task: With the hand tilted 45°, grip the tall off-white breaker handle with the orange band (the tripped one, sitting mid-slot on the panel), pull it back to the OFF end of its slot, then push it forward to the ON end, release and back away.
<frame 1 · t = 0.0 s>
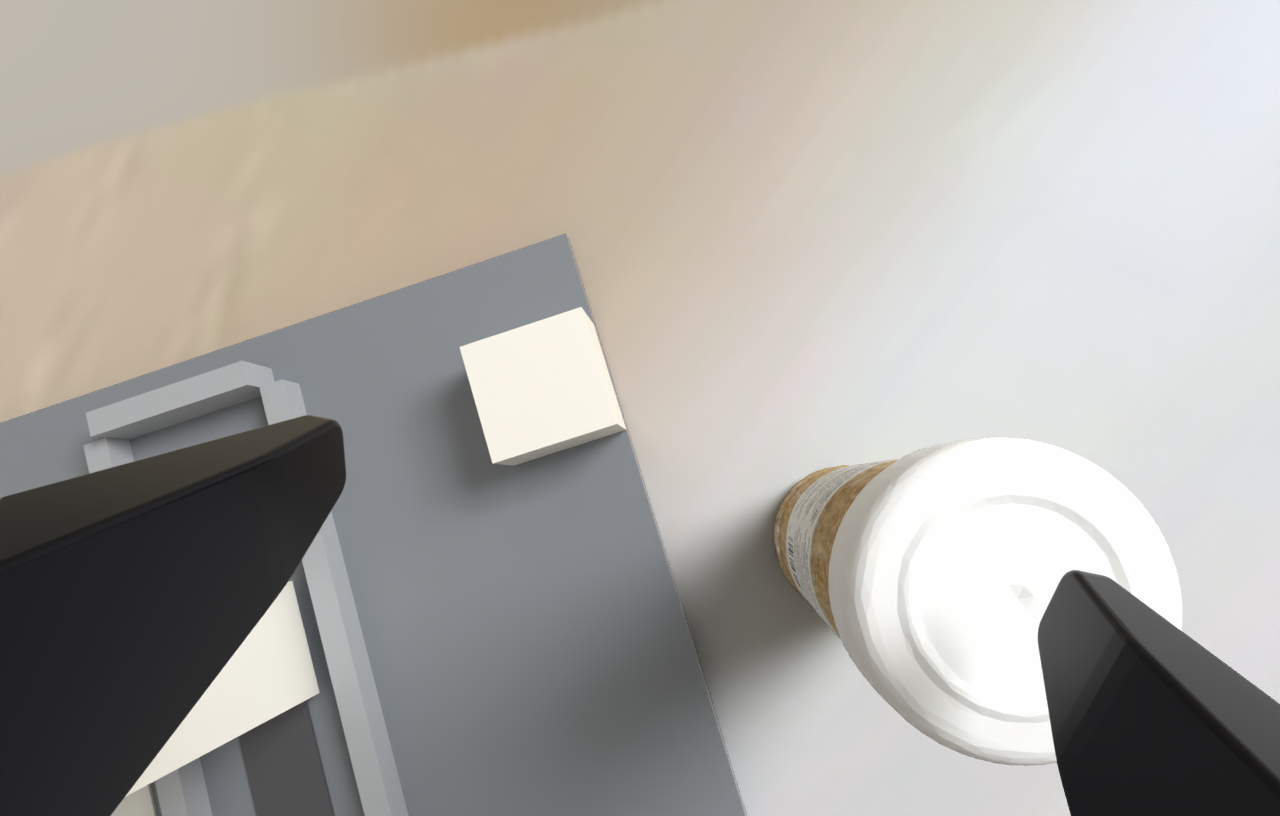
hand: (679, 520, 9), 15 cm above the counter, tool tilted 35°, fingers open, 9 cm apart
panel: (268, 646, 25), on the counter
breaker handle: (114, 703, 18), point 7 cm above the counter, slide at 0.0 cm
sprinkles bottle: (842, 535, 24), on the counter
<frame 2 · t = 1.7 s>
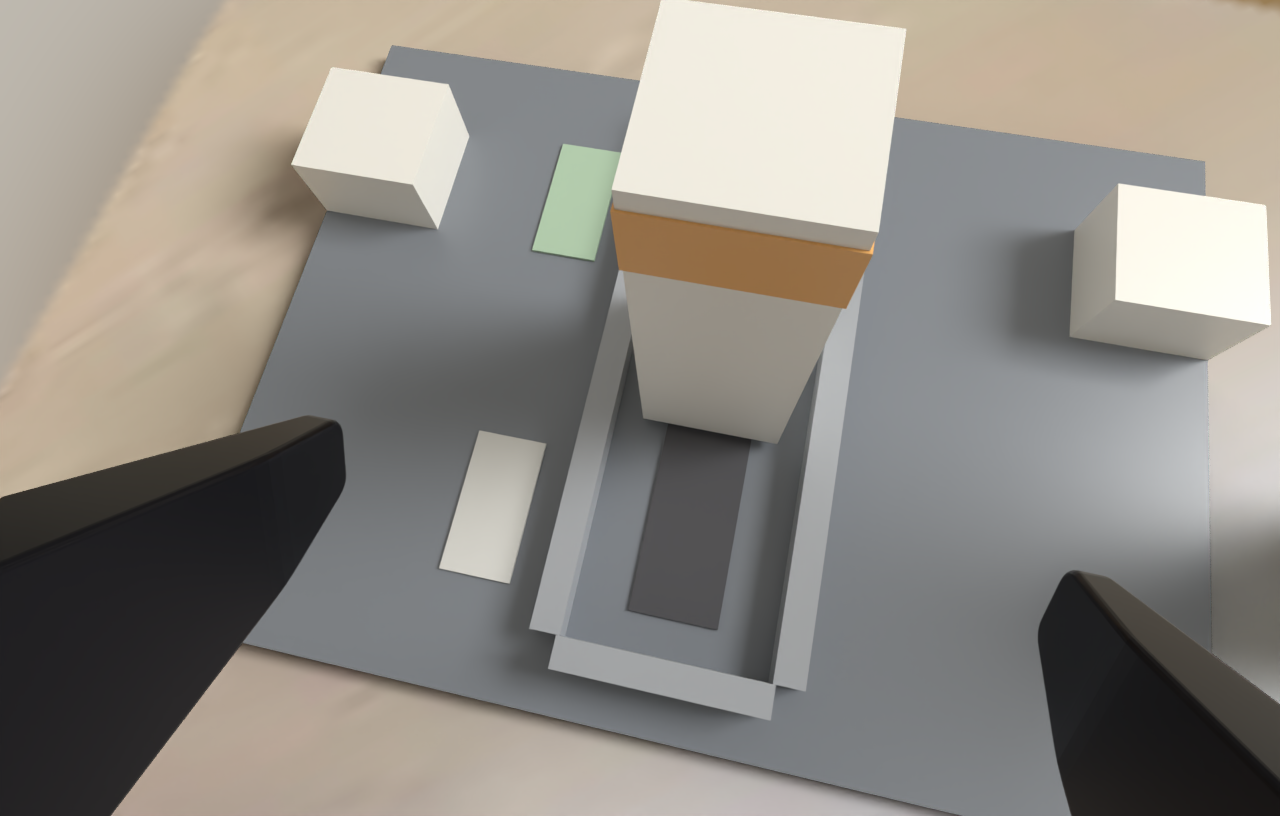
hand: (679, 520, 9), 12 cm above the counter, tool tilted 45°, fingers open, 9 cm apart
panel: (719, 384, 22), on the counter
breaker handle: (735, 281, 16), point 7 cm above the counter, slide at 0.0 cm
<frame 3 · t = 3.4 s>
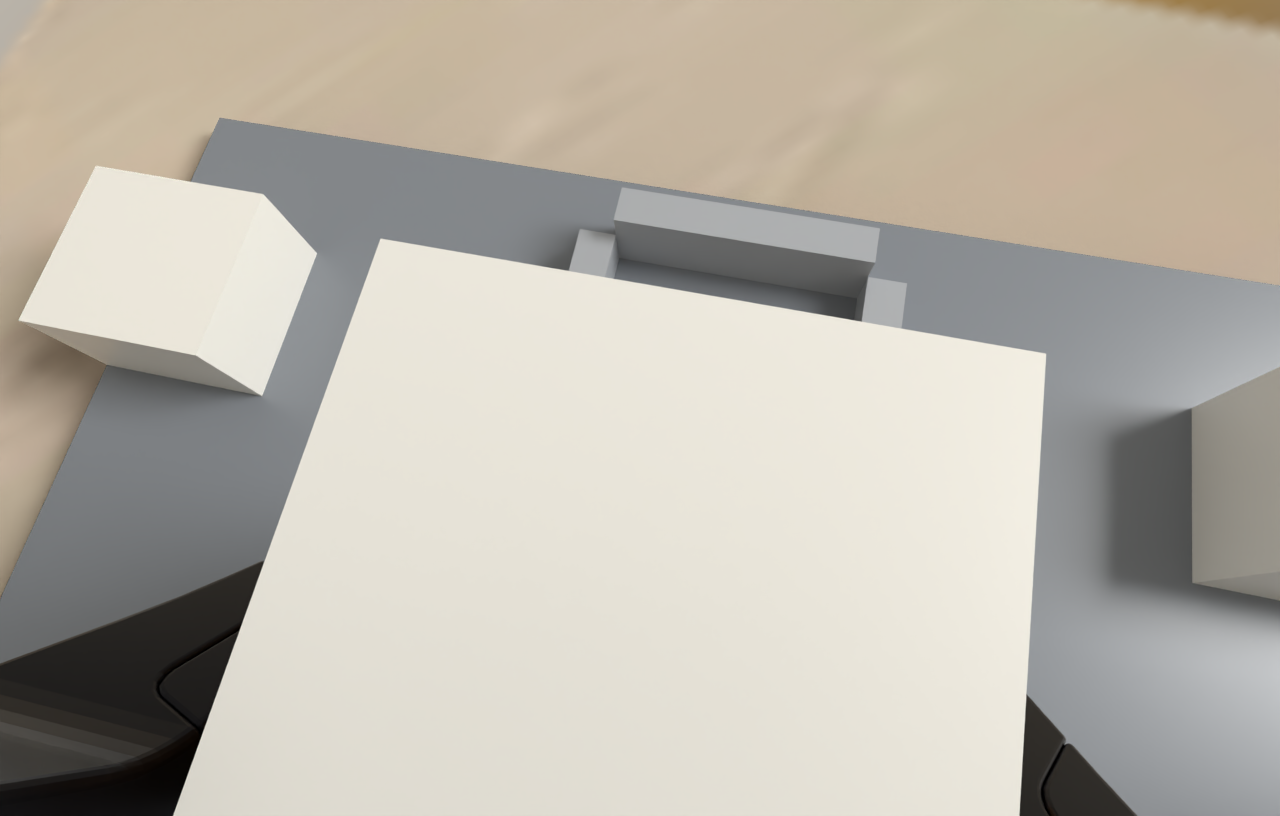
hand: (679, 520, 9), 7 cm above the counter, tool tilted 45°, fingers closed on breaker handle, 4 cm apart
panel: (664, 642, 15), on the counter
breaker handle: (656, 636, 9), point 7 cm above the counter, slide at 0.0 cm, touching gripper
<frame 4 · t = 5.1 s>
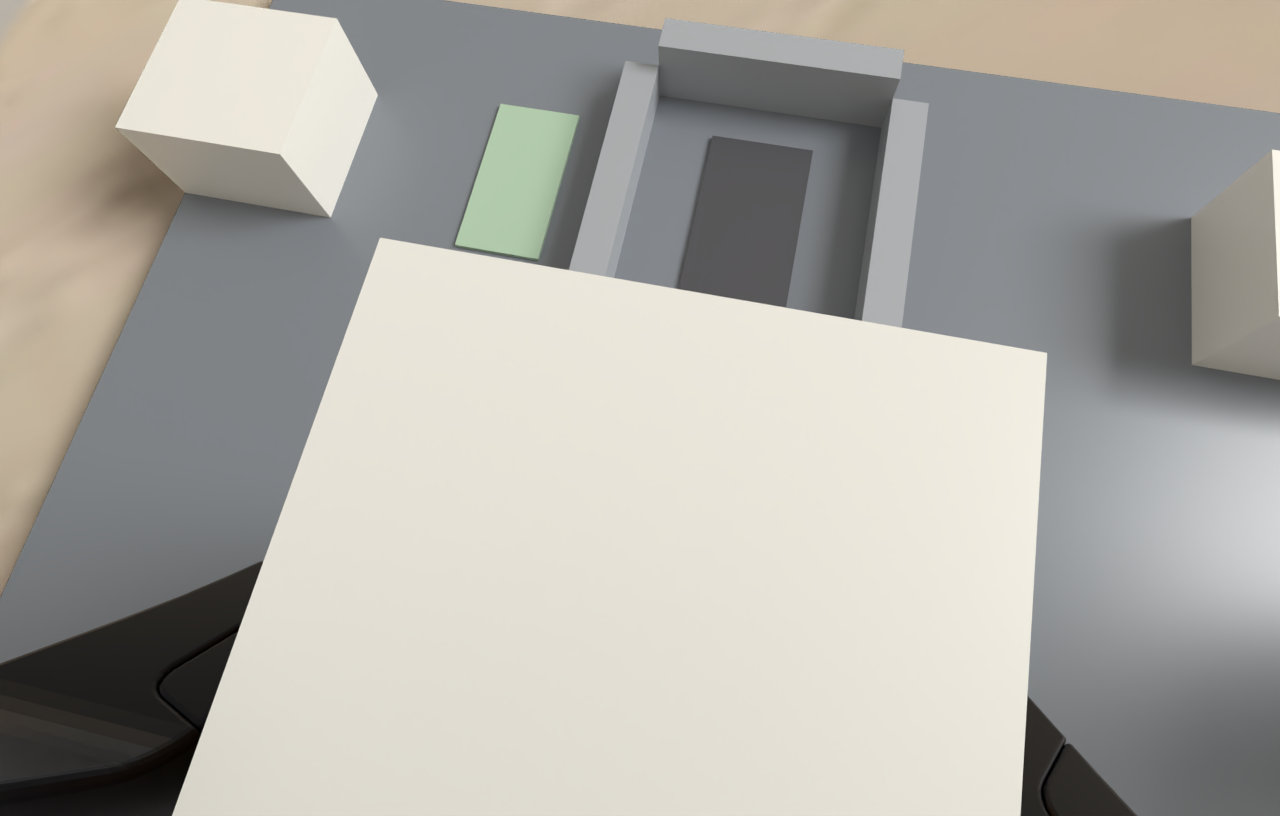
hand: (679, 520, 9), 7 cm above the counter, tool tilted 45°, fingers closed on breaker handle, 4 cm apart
panel: (706, 428, 16), on the counter
breaker handle: (656, 636, 9), point 7 cm above the counter, slide at -4.6 cm, touching gripper
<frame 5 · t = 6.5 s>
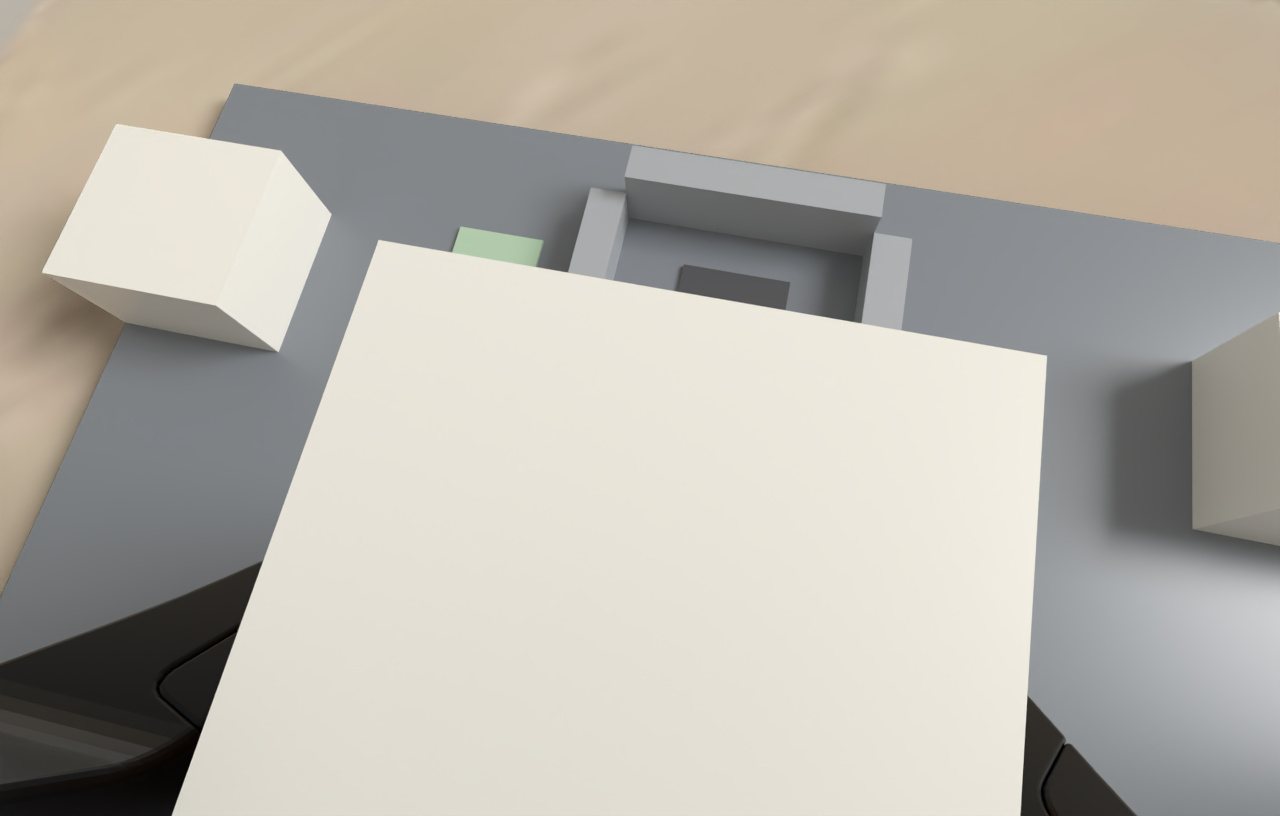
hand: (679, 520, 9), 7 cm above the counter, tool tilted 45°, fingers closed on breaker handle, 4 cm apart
panel: (675, 589, 15), on the counter
breaker handle: (656, 637, 9), point 6 cm above the counter, slide at -1.1 cm, touching gripper
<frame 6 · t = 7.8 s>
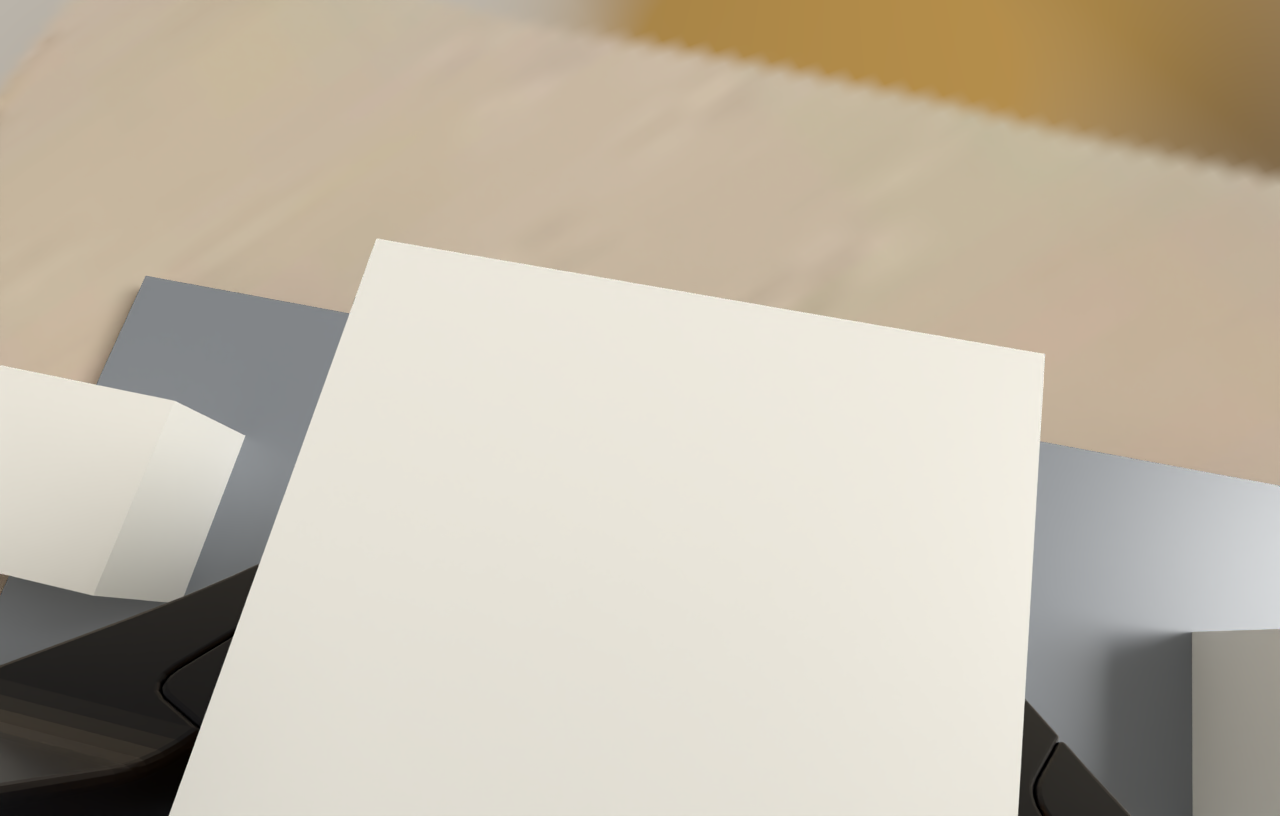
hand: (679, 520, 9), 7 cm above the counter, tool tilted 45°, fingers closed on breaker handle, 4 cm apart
breaker handle: (655, 636, 9), point 6 cm above the counter, slide at 4.5 cm, touching gripper
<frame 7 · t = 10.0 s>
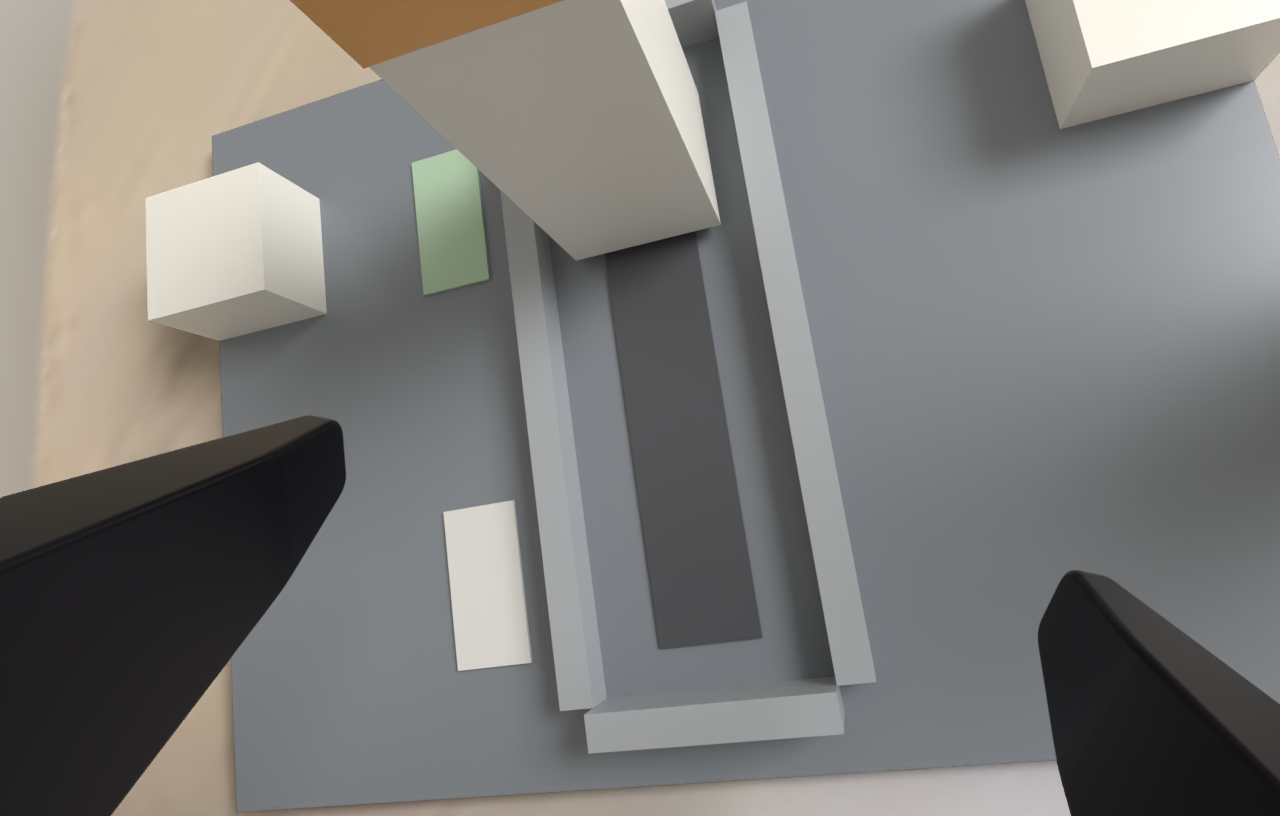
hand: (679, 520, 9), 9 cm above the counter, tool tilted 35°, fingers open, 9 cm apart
panel: (672, 357, 19), on the counter
breaker handle: (554, 47, 14), point 6 cm above the counter, slide at 4.6 cm
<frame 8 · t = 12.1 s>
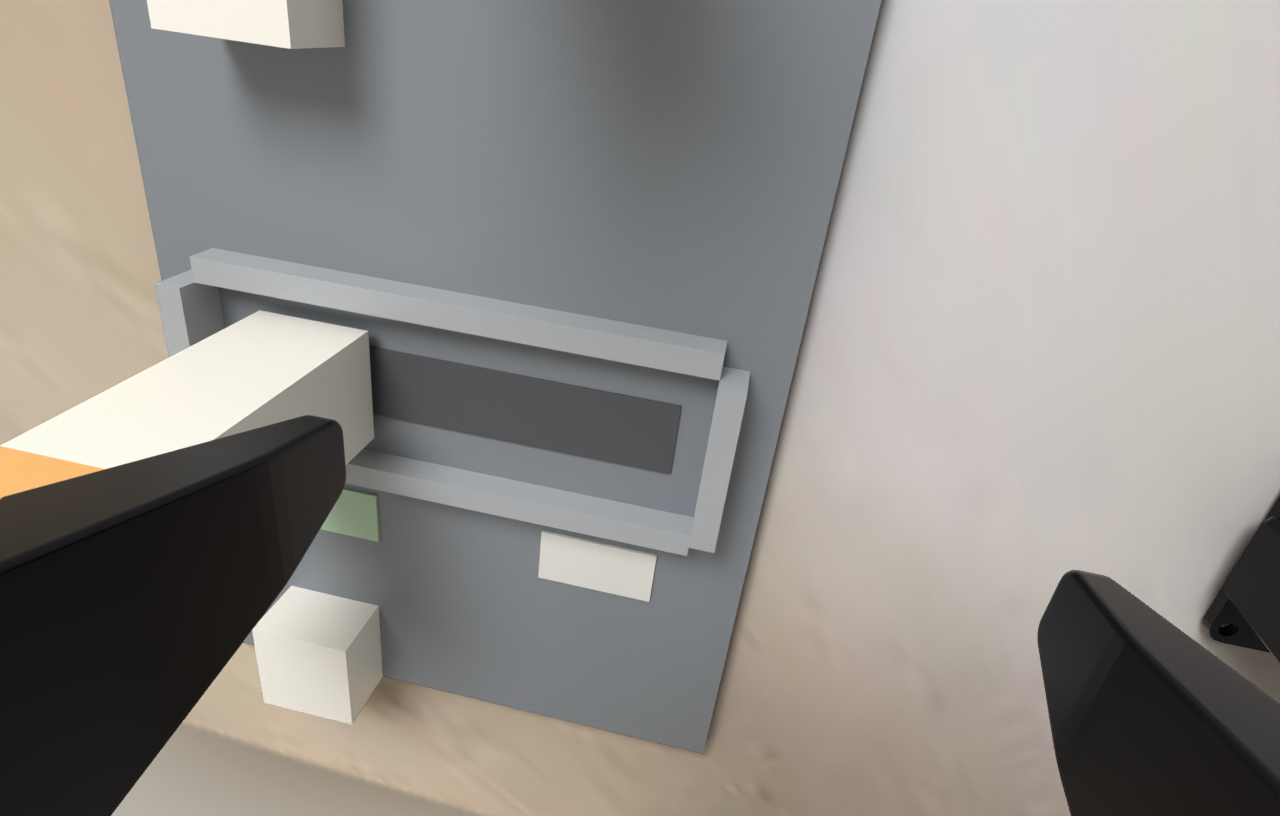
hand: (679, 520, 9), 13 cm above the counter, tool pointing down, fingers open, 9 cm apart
panel: (466, 389, 24), on the counter
breaker handle: (197, 463, 19), point 7 cm above the counter, slide at 4.6 cm
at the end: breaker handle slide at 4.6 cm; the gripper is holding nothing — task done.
